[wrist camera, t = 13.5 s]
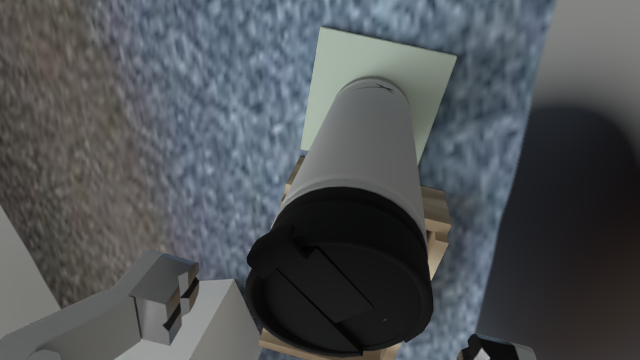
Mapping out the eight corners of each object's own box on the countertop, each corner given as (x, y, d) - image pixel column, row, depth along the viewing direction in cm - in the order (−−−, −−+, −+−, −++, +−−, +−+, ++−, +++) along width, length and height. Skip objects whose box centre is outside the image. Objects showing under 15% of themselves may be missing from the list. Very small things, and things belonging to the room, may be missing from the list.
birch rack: (300, 156, 32) (278, 197, 26) (443, 191, 31) (455, 241, 25) (278, 292, 41) (258, 345, 35) (388, 322, 40) (387, 382, 34)
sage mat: (321, 26, 26) (320, 27, 26) (455, 55, 26) (457, 56, 25) (302, 146, 31) (300, 149, 31) (413, 173, 31) (413, 176, 30)
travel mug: (379, 54, 26) (351, 198, 9) (426, 125, 28) (477, 357, 11) (313, 101, 29) (192, 284, 11) (360, 163, 31) (317, 399, 13)
